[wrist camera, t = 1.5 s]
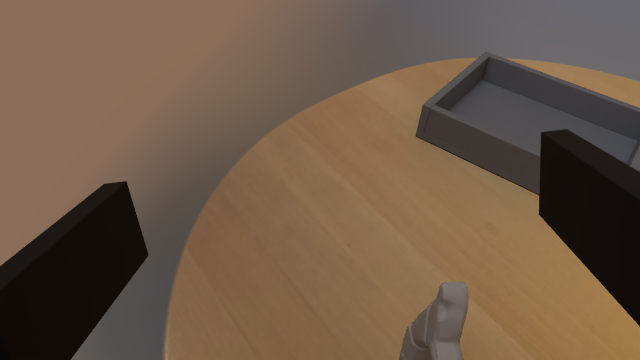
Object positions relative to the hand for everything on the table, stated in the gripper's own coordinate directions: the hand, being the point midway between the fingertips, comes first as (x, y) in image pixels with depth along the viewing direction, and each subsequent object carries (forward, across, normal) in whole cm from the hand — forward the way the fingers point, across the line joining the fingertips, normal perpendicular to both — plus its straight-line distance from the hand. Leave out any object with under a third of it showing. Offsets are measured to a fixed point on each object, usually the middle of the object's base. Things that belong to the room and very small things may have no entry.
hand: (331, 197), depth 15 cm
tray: (+34, +18, -10) cm, 40 cm away
